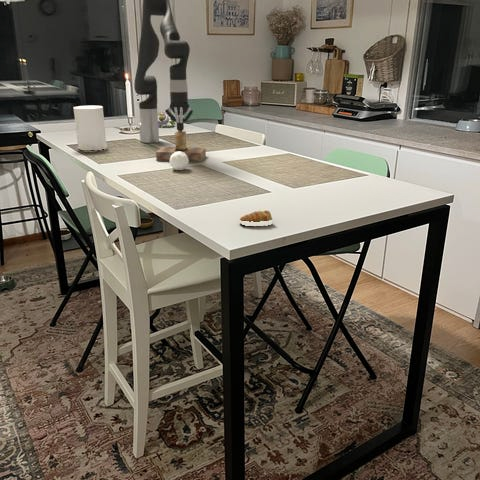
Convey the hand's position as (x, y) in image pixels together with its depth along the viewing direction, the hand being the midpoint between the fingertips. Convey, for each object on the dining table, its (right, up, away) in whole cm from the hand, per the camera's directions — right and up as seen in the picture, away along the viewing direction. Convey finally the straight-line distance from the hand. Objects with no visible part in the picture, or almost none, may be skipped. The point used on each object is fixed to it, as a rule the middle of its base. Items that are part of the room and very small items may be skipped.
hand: (180, 131), depth 217 cm
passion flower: (-21, +23, +91) cm, 96 cm away
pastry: (+32, -44, -76) cm, 93 cm away
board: (0, -11, +5) cm, 12 cm away
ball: (+2, -20, -15) cm, 25 cm away
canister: (-47, -3, +26) cm, 53 cm away
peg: (0, -11, +5) cm, 12 cm away
